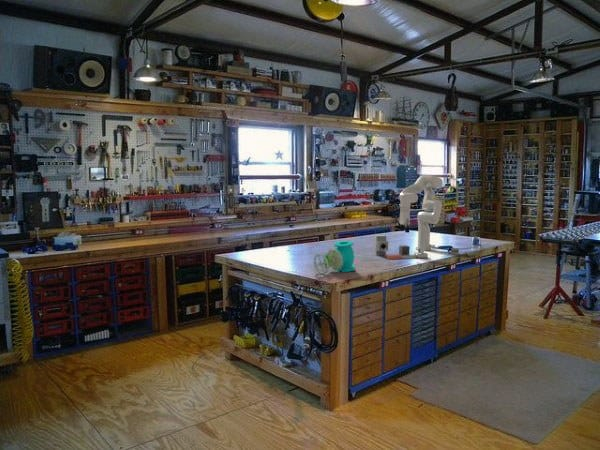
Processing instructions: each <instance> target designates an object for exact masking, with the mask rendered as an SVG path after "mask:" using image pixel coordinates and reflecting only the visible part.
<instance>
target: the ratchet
mask: <svg viewBox="0 0 600 450" xmlns="http://www.w3.org/2000/svg"><path fill="white" fill-rule="evenodd" d="M428 256H429V254H428V253H427V252H425V251H424V249H423V248H418V250H417V252H414V253H413V254H409V255H400V254H399V253H397V254H386V255H384V259H386V260H401V259H403V260H404V259H418V260H419V259H420V260H422V259H423V260H425V259H428Z"/></svg>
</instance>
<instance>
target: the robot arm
mask: <svg viewBox="0 0 600 450" xmlns="http://www.w3.org/2000/svg"><path fill="white" fill-rule="evenodd" d="M443 184H444V181H443V179H442V178H441V177H438V176H436V175H433V174H422V175H420V176H419V177H418V179H417V180H416V181H415V182H414V183H413V184H412V185H409V186H407V187H405V188H403V190H402V191H401V192H400V193H399V194H400V195H399V196H398V197H399V201H400V208H399V211H400V212H399V221H398V222H399V224H400V225H399V231H400V232H403V231H404V232H405V233H410V226H411V215H410V213H411V204H412V203H415V204H416V202H418V199H419V195H418V194H419V193H422V192H423V191H424V192H423V193H424V195H423V200H422V203H421V204H422V205H421V208H422V210H423V211H419V212H418V213H417V227H418V230H417V247H415V250H416V251H418V248H423V249H424V252H425V251H431V250H432V248H436V244H431V243H430V241H431V227H430V225H429V224H433V225H436V224H438V223H439V221H440V217H441V213H442V207H443V203H442V201H441V200H440V199H435V197H436V193H435V191H434V190H433V189H441V188H442V187H443Z"/></svg>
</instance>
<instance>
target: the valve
mask: <svg viewBox="0 0 600 450" xmlns="http://www.w3.org/2000/svg"><path fill="white" fill-rule="evenodd" d="M354 244H355V243H354V241H352V240H340V241H336V242H334V243H333V245H334V247H335V248H330V249H329V250H328V251H327V252H326V254H325V255H324V254H323V253H321V252H317V253H316V254H315V255H314V257H313V265H314V268H315V270H316V272H317V273H319V274H321V275H324V276H325V275H326V274H328V272H329V270H330V268H331V269H332V270H333V271H337V272H340V271H342V272H343V273H346V272H348V273H349V272H352V271H355V270H356V266H355V265H354V260H355V255H354V253H355V252H354V250H353V249H354V248H353V247H352V246H354ZM320 256H321V257H322V258H323V261H322V260H321V257H320ZM317 258H318V263H317V261H316V260H317ZM318 267H321V270H322V271H321V270H320V269H319V268H318ZM342 272H341V273H342Z"/></svg>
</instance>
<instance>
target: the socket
mask: <svg viewBox="0 0 600 450" xmlns="http://www.w3.org/2000/svg"><path fill="white" fill-rule="evenodd" d="M398 254H400V255H410V246H409V245H407V244H405V245H403V244H401V245H399V246H398Z"/></svg>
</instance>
